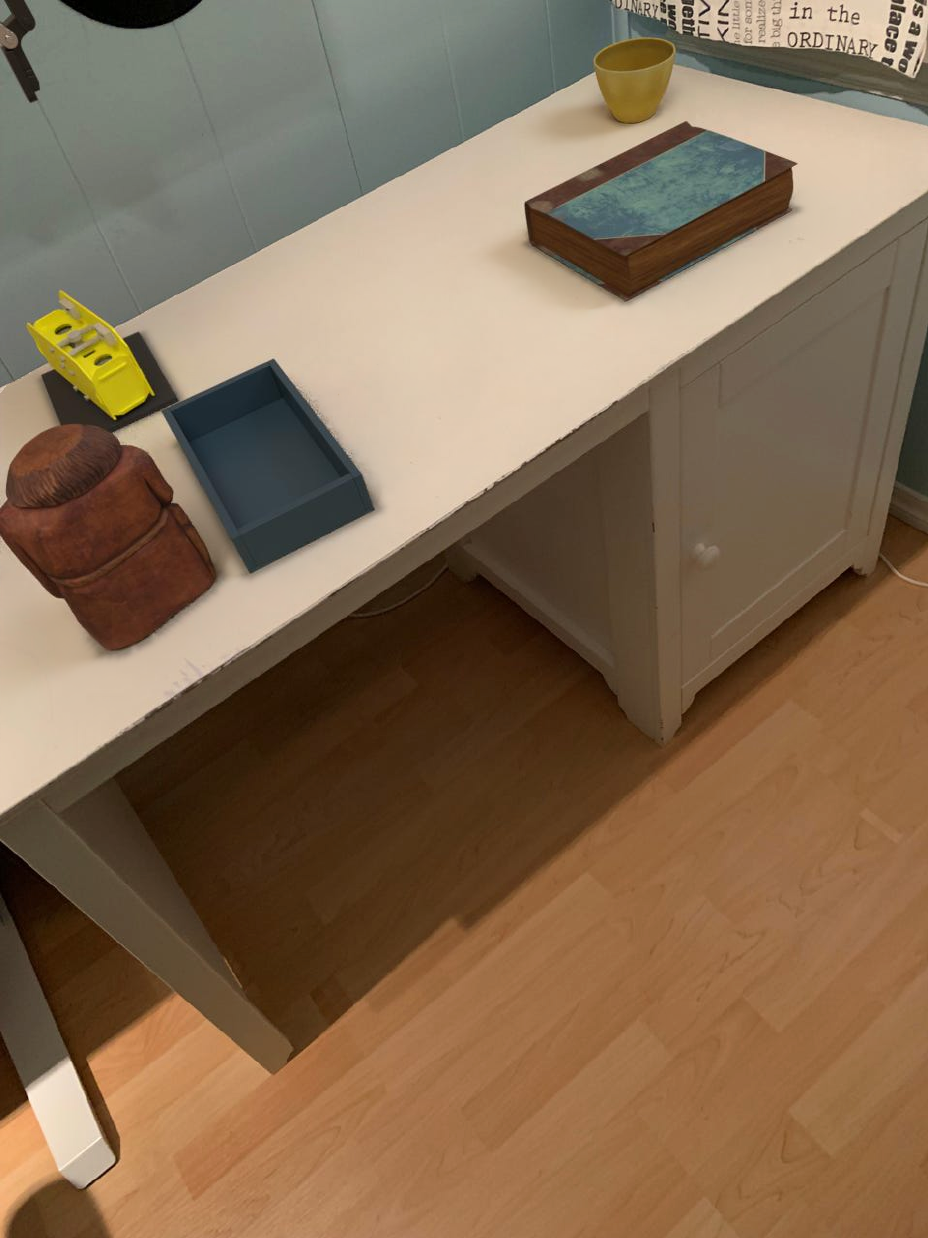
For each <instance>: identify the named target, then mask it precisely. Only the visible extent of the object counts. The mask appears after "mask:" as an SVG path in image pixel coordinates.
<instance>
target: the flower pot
mask: <svg viewBox="0 0 928 1238" xmlns="http://www.w3.org/2000/svg"><path fill="white" fill-rule="evenodd" d="M675 56H676V46H675V44H674V43H673V42H671V41H669V40H667V39H664V38H659V37H635V38H630V39H625V40H621V41H617V42H615V43H612V44H610V45H607V46H606V47H604V48H603V49H601V50H600V51H598V52H597V53H596V54H595V56H594V57H593V59H592V61H593V68H594V74H595V77H596V80H597V84H598V87H599V90H600V92H601V95H602V98H603V99H604V101H605V103H606V106H607V107H608V109H609V110H610V113H612V115H613V117H614V118H615V120H617V121H618V122H622V123H626V124H635V123H640V122H643V121H646V120H648V119H650V118H652V117H653V116H654V115H655V113H656V111H657V109H658V108H659V106H660V104H661V102H662V100H663V98H664V95H665V93H666V91H667V89H668V86H669V83H670V80H671V76H672V73H673V68H674V63H675Z"/></svg>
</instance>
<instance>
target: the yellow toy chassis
mask: <svg viewBox="0 0 928 1238" xmlns="http://www.w3.org/2000/svg"><path fill="white" fill-rule="evenodd" d="M58 298H59V300H58V303H59V304H60V306H61V308H62V309H58V308H57V309H55V310H53V311H51V312H49V313H48V314H46V315H44V316H42V317H41V318H38V319H36V320H35V321H34V322H33V325H32V324H31V323H30V322H27V323H26V329H27V331H28V333H29V335H30V336H31V338H32V339H33V341H34V342H35V344H36V348H37V349H38V351H39V352H40V354H41V355H43V356H44V357H45V359H46V361H47V362H48V364H49V365H50V367H51V368H52V369H55V370H56V371H57V372H58V373H60V374H61V375H62V376H63V377H64V378H66V379H67V380H68V381H69V382H70V383H71V384H73V385H74V387H73V388H74V390H75V391H76V392H77V391H78V390H80V391H81V392H82V393H83V394H85V396H84V398H85V399H86V400H87V401H88V400H89V399H90V400H92V401H93V402H94V403H95V404H96V405H98V406H99V407H100V408H101V409H102V410H104V411H105V412H106V413H107V414H108V415H109V416H111V417H112V418H113V419H114V420H115V419H116V417H115V416H114V415H124V414H125V413H127V412H128V411H130V410H132V409H133V408H135V407H136V406H138V405H140V404H141V403H143V402H144V401H145V399H146V398H147V396H148V394H149V393H150V394H151V395H153V396H154V395H155V394H154V393H153V391H152V389H151V387H150V385H149V383H148V382H147V380H146V378H145V375H144V373H143V372H142V370H141V369H140V367H139V365H138V364H137V362H136V360H135V358H134V356H133V354H132V353H131V351H130V349H129V347H128V345H127V344H126V343H125V342H124V341H123V338H122V337H121V335H120V334H119V333H118V332H117V331H116V329H115V328H114V327H113V326H112V325H111V324H109V323H108V322H107V321H105V319H102V318H101V317H100V316H98V315H96V314H95V313H94V312H93V311H92V310H90V309H88V308H87V307H86V306H84V305H83V304H81V303H80V302H79V301H77V300H76V299H74V298H73V297H71V296H70V295H68V294H67V293H66V292H65V291H63V290H62V289H59V291H58Z"/></svg>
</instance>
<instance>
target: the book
mask: <svg viewBox="0 0 928 1238" xmlns="http://www.w3.org/2000/svg"><path fill="white" fill-rule="evenodd" d="M798 164H799V163H798V162H797V161H793V160H792V159H788V158H786V157H783V156H780V155H777V154H775V153H772V152H770V151H767V150H764V149H761V148H760V147H757V146H754V145H751V144H748V143H747V142H743V141H740V140H737V139H735V138H732V137H730V136H727V135H724V134H721V133H718V132H716V131H713V130H709V129H706V128H703V127H700V126H692V125H691V124H690V122H688V121H687V120H685V121H683V122H680V123H679V124H676V125H674V126H673V127H671V128H669V129H667V130H665V131H663V132H661V133H659V134H657V135H655V136H653V137H651V138H649V139H647V140H644V141H643V142H641V143H638V144H637V145H635V146H633V147H631V148H629V149H627V150H625V151H623V152H622V153H619V154H617V155H615V156H613V157H611V158H609V159H607V160H605V161H603V162H601V163H599V164H597V165H595V166H593V167H591V168H588V169H587V170H586V171H583V172H581V173H579V174H577V175H576V176H573V177H571V178H569V179H567V180H566V181H564V182H562V183H559V184H558V185H555V186H553V187H552V188H550V189H547V190H545V191H543V192H542V193H539V194H538V195H536V196H534V197H532V198H529V199H528V200H525V201H524V205H523V206H524V215H525V222H526V223H525V224H526V229H527V235H528V241H529V243H530V245H531V246H533V247H536V248H537V249H539V250H540V251H542V252H544V253H545V254H547V255H549V256H550V257H551V258H553V259H555V260H557V261H558V262H560V263H561V264H563V265H565V266H566V267H568V268H569V269H571V270H573V271H575V272H576V273H578V274H580V275H581V276H583V277H585V278H587V279H588V280H589V281H591V282H594V283H595V284H596V285H599V287H601V288H603V289H605V290H606V291H608V292H610V293H611V294H613V295H615V296H617V297H618V298H620V299H622V300H623V301H629V300H631V299H633V298H635V297H636V296H638V295H640V294H643V293H644V292H646V291H647V290H649V289H651V288H653V287H655V286H657V285H659V284H660V283H662V282H664V281H665V280H667V279H670V278H671V277H673V276H676V274H678V273H680V272H682V271H684V270H686V269H688V268H689V267H691V266H693V265H695V264H697V263H699V262H700V261H702V260H704V259H705V258H707V257H709V256H711V255H713V254H715V253H717V252H718V251H721V250H722V249H724V248H727V246H730V245H731V244H733V243H735V242H737V241H739V240H741V239H742V238H743V237H745V236H748V235H749V234H751V233H753V232H755V231H757V230H758V229H760V228H762V227H764V226H766V225H768V224H770V223H771V222H773V221H775V220H777V219H778V218H780V217H782V216H785V215H786V214H787V213H790V212H791V211H793V208H792V207H789V206H790V202H791V200H792V197H793V194H794V178H793V175H794V173H793V167H795V166H797V165H798Z"/></svg>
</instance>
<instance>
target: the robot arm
mask: <svg viewBox="0 0 928 1238" xmlns="http://www.w3.org/2000/svg"><path fill="white" fill-rule="evenodd" d="M3 1H4V3H5V4H6V7H7V8H8V10H9V12H10V14H9V15H8V17H6V18H5V20H3V21H1V20H0V50H1V51H2V54H3V56H4V57H5V59H6V61H7V63H8V65H9V67H10V69H11V71H12V74H13V75H14V77H15V78H16V81H17V83H18V85H19V87H20V88H21V90H22V92H23V94H24V96H25V98H26V99H27V101H28V102H29V104H32V103H34V102H37V101H39V99H38V97H37V94H36V92H38V91H40V90H41V86H40V81H39V79H38V77H37V74H36V73H35V71H34V69H33V67H32V64H31V63H30V61H29V59H28V57H27V55H26V53H25V51H24V49H23V46H22V40H23V39H24V37H25V36H26V35H27V34H28V33H29V32H32V31H33V30H34V29H35V27H36V25H37V24H36V19H35V17H34V15H33V14H32V12H31V9H30V8H29V6H28V4H27V2H26V0H3Z"/></svg>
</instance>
